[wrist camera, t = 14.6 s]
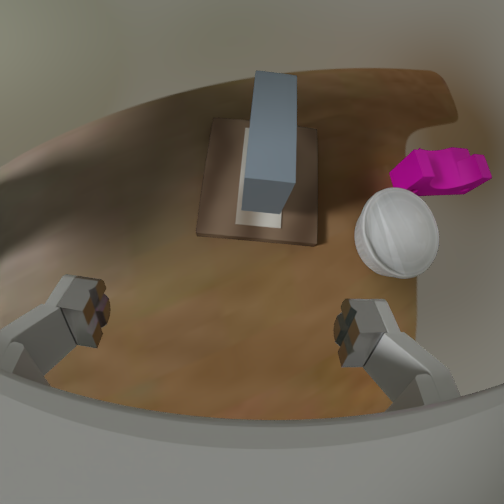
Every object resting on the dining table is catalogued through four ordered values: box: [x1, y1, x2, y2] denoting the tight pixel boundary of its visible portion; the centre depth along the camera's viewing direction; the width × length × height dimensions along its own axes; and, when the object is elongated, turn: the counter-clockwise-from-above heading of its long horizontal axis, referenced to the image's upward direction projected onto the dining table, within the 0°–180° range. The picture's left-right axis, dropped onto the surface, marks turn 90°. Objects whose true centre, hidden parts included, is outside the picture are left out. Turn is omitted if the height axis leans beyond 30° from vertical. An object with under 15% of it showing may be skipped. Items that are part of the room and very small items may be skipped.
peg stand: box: [196, 118, 318, 247], centre depth 35 cm, size 14×16×6 cm
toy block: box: [389, 147, 492, 196], centre depth 36 cm, size 15×6×8 cm, turn 98°
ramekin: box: [355, 187, 439, 279], centre depth 35 cm, size 11×11×5 cm
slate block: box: [241, 71, 297, 214], centre depth 28 cm, size 4×12×8 cm, turn 176°
